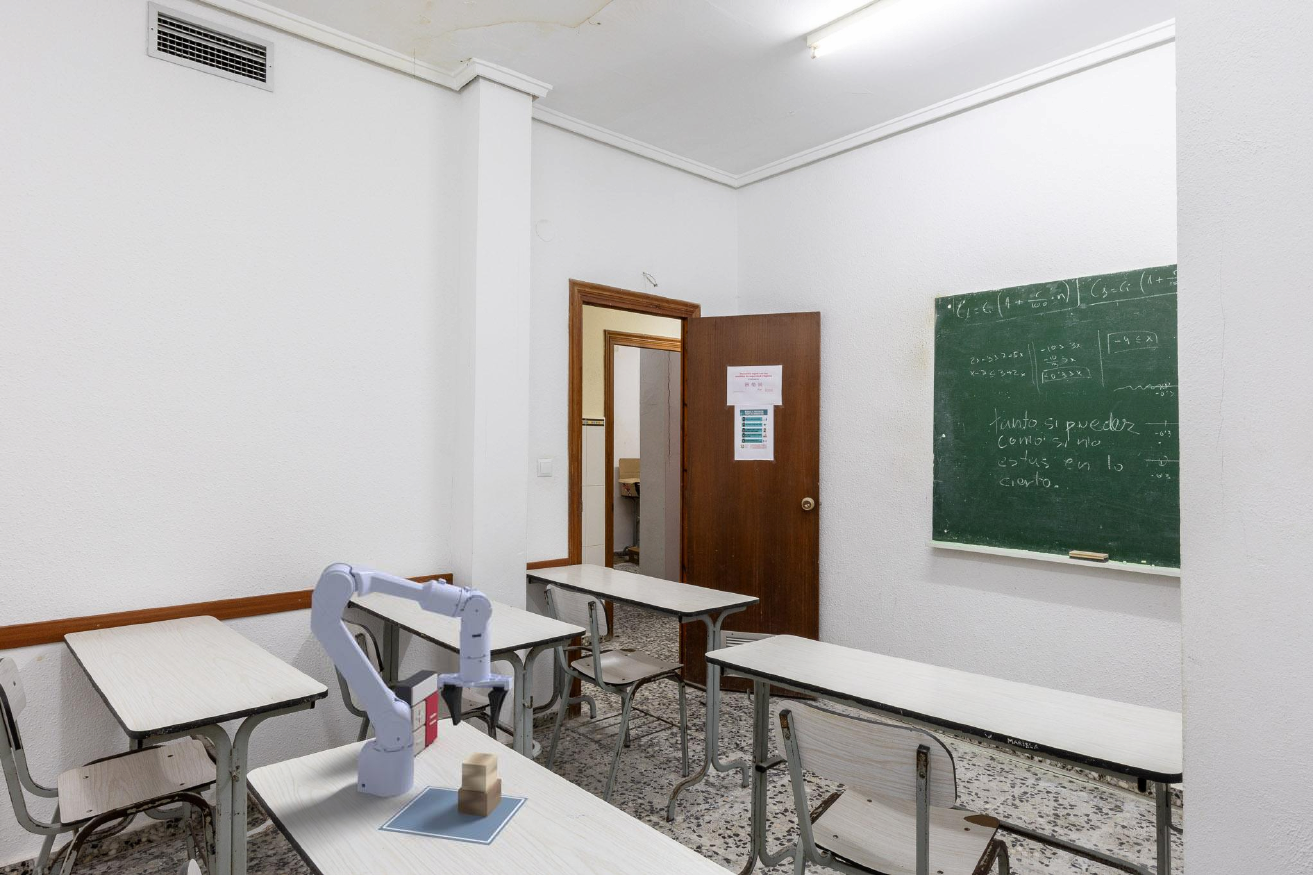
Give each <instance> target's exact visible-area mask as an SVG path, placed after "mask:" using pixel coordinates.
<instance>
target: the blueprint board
mask: <svg viewBox="0 0 1313 875" xmlns="http://www.w3.org/2000/svg"><path fill="white" fill-rule="evenodd" d="M528 800H529V798H528V797H522V796H512V795H506V794H501V802H500V803H499V804H498V806H497V807H496V808H495V809H494V810H493V811H492V812H491V813H490V814H489V816H488V817H483V816H475V815H468V814H460V813H458V789H457V788H456V789H455V788H447V787H441V786H432V785H427V786H426V787H425V788H424V789H423V790H421V791H420V792H419V793H417V795H416V796H415V797H414V798H412V799H411V800H410V801H409V802H408V803H406V805H404V806H403V807H402V808H401V809H400V810H398V811H397V812H396V813H395V814H394V815H392V816H391V817H390V818H389V819H388V820H386V822H384V823H383V824H382V825H381V826H380V827H379V828H377V830H379V831H380V830H381V831H386V832H394V833H401V834H408V835H414V836H422V837H427V838H428V837H430V838H436V839H444V840H449V841H450V840H452V841H458V842H464V843H472V844H479V845H487V846H490V845H491V844H492V843H493V842H494V840H495V839H496V838H497V837H498V836H499V835H500V833H501V832H502V831H503V830H504V829H505V827H506V826H507V825H508V824H509V822H510V821H512V819H513V818H514V816H515V815H516V814H517V813H518V812H519V810H521V808H522V807H523V806H524V805H525V803H526V802H527V801H528Z"/></svg>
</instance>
